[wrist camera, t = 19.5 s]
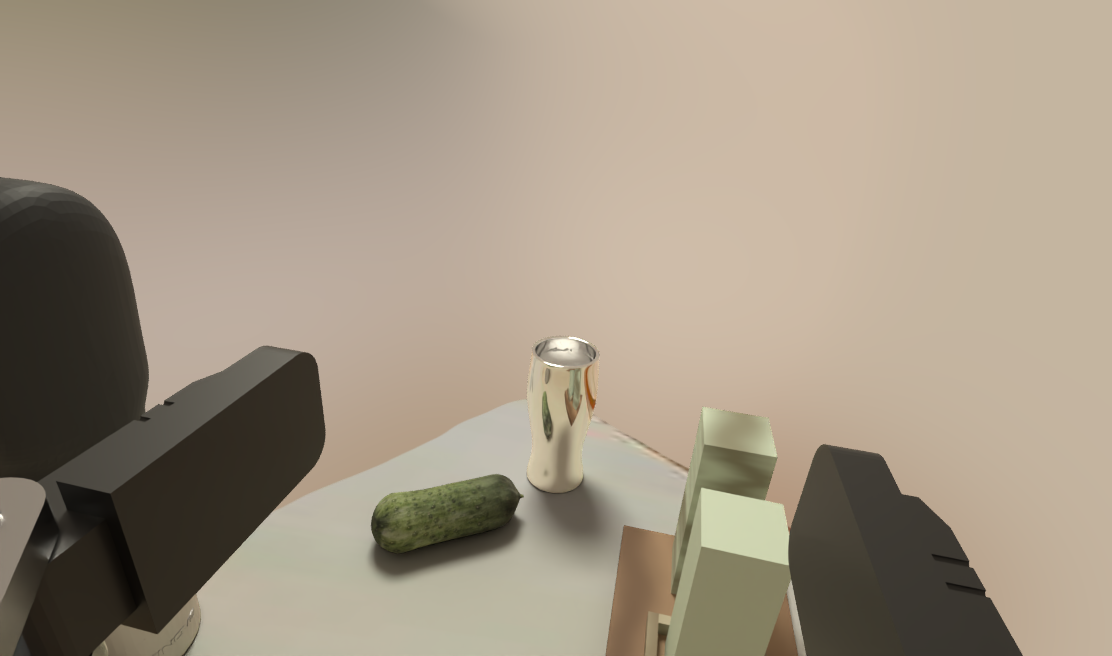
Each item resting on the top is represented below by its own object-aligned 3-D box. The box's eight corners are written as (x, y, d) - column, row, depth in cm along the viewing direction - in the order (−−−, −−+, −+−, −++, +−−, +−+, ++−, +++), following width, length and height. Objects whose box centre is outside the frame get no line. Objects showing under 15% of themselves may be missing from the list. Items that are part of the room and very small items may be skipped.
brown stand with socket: (589, 768, 36) (621, 583, 29) (622, 537, 54) (646, 387, 47) (821, 831, 34) (915, 648, 27) (775, 569, 52) (825, 417, 45)
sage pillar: (660, 711, 38) (701, 546, 32) (665, 644, 43) (701, 487, 36) (737, 732, 38) (795, 566, 31) (733, 662, 42) (783, 504, 36)
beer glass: (585, 500, 58) (600, 372, 52) (517, 492, 59) (524, 364, 52) (588, 457, 65) (602, 338, 58) (527, 450, 65) (534, 331, 59)
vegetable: (377, 571, 49) (373, 527, 47) (369, 528, 53) (365, 486, 51) (530, 532, 54) (533, 491, 52) (512, 496, 58) (514, 456, 56)
